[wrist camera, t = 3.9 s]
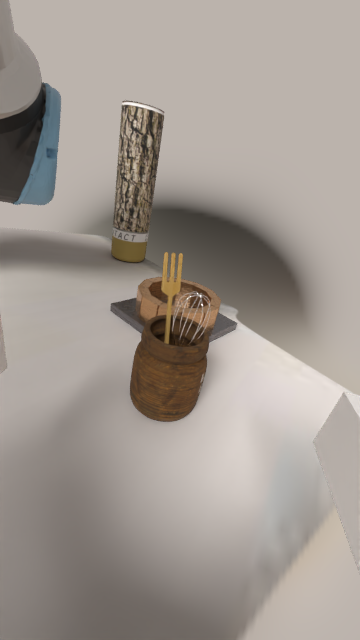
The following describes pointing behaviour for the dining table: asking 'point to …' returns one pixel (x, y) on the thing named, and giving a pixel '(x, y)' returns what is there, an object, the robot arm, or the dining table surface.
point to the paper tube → (135, 179)
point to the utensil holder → (170, 358)
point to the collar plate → (139, 325)
